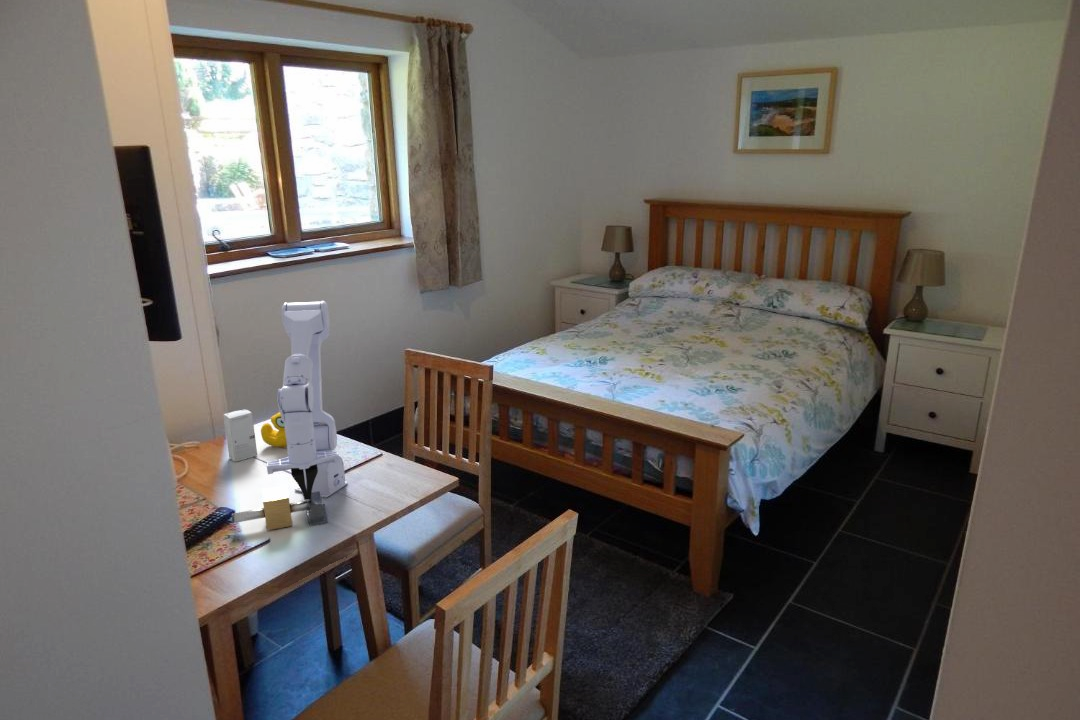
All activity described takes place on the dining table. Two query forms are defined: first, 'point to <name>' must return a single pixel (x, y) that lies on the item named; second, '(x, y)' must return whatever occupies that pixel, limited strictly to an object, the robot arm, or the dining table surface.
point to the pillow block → (316, 510)
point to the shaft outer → (248, 515)
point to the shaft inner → (300, 506)
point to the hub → (277, 507)
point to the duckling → (274, 432)
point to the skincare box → (240, 435)
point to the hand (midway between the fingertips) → (307, 497)
